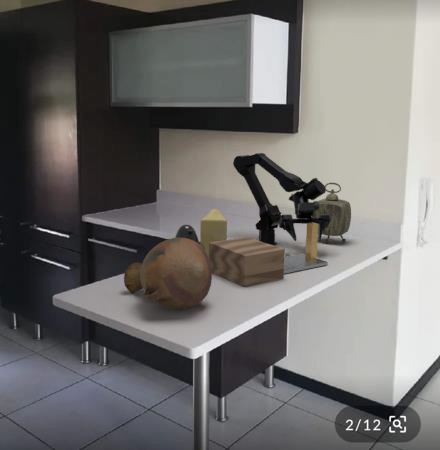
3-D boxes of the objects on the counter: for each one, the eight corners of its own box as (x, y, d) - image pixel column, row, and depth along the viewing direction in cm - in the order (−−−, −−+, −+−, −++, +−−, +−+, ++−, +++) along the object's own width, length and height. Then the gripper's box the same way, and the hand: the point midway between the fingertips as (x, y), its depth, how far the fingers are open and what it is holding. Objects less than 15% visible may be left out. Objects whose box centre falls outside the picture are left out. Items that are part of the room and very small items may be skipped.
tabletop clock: (349, 242, 234) (353, 183, 229) (342, 246, 226) (346, 185, 221) (316, 238, 241) (319, 180, 236) (308, 242, 233) (312, 182, 228)
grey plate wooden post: (271, 276, 184) (273, 234, 182) (247, 266, 195) (248, 227, 192) (327, 264, 199) (329, 226, 196) (302, 256, 209) (304, 219, 207)
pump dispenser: (178, 273, 187) (178, 228, 184) (166, 265, 196) (166, 222, 193) (206, 269, 192) (206, 226, 189) (193, 262, 201) (193, 220, 198)
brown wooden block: (208, 271, 190) (209, 242, 188) (246, 264, 199) (246, 236, 197) (244, 287, 174) (245, 255, 172) (283, 278, 183) (284, 249, 181)
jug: (224, 311, 153) (161, 301, 175) (228, 240, 154) (165, 238, 176) (164, 313, 139) (103, 301, 162) (169, 235, 140) (108, 234, 163)
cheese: (203, 243, 228) (203, 207, 225) (227, 244, 228) (227, 208, 225) (199, 258, 206) (200, 218, 203) (226, 258, 206) (227, 218, 203)
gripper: (281, 193, 206) (287, 229, 198) (331, 193, 209) (338, 228, 200) (276, 210, 216) (281, 245, 207) (323, 210, 218) (330, 244, 210)
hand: (307, 240), depth 206 cm, fingers open, 9 cm apart
